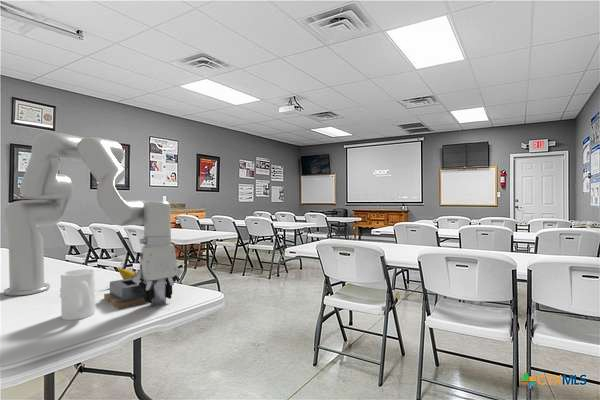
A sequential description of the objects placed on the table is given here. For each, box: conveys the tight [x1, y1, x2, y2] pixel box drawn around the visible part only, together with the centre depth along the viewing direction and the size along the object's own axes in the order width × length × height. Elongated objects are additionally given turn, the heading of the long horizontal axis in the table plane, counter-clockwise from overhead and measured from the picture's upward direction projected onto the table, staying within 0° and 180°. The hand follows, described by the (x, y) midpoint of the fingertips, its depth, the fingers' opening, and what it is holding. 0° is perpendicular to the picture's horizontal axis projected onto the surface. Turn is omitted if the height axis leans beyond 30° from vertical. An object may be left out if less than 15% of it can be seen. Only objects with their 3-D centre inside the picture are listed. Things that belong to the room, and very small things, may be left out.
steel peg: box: [150, 278, 167, 308], centre depth 106 cm, size 4×4×9 cm
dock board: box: [103, 292, 148, 310], centre depth 112 cm, size 14×14×2 cm
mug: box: [59, 268, 96, 321], centre depth 95 cm, size 8×12×12 cm
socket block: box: [109, 278, 151, 302], centre depth 112 cm, size 11×11×4 cm
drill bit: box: [116, 267, 138, 280], centre depth 129 cm, size 5×5×10 cm
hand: (158, 299), depth 106 cm, fingers open, 5 cm apart
